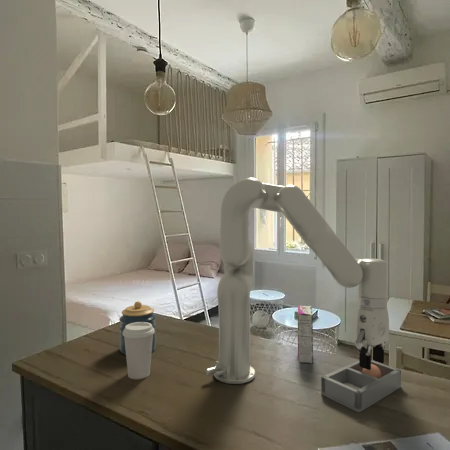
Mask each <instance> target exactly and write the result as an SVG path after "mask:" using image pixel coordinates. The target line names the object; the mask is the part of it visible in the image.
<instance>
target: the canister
mask: <svg viewBox="0 0 450 450" xmlns="http://www.w3.org/2000/svg"><path fill="white" fill-rule="evenodd" d="M154 311H155V310H154V308H152V307H150V306H149V305H147V304H142V302H141V301H139V300H137V301H135V302H134V304H133V305H129V306H127V307H126V308H124V309H123V310H122V311H121V314H122V315H121V316H120V317H119V318H118V319H119V322H120V326H119V350H120V353H121V354H123V356H126V349H125V339H124V336H123V335H122V334H123V331H124V329H125V326H126V325H128V324H131V323H135V322H148V323H151V324H152V327H153V328H154V330H155V333H154V334H153V341H152V353H153V352H154V351H156V349H157V348H156V347H157V332H156V331H157V330H156V329H157V324H156V319H157V315H156V314H155V313H154Z"/></svg>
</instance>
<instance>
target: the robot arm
mask: <svg viewBox="0 0 450 450" xmlns="http://www.w3.org/2000/svg"><path fill="white" fill-rule="evenodd" d="M251 208H253V209H259V210H264V211H271V212H276V213H282V215H283V216H284V218H285V219H286V220H287V222H289V224H290V225H291V226H292V227H293V229H294V231H295V232H296V233H297V234H298V236H299V237H300V238H301V240H302V241H303V242H304V244H305V245H307V247H308V248H310V250H312V252H313V253H314V254H315V255H316V256H317V258H318V259H319V260H320V261H321V263H322V265H324V266H325V269H327V271H328V272H329V273H330V275H331V276H332V278H333V280H335V281H336V283H337V284H338V285H340V286H341V287H342V288H347V289H351V288H354V287H355V288H356V287H357V286H358V298H357V299H358V301H357V302H358V303H357V305H358V310H357V311H358V312H357V320H356V339H355V342H354V346H355V347H356V348H357V349H356V350H357V351H358V353H359V359H358V360H359V366H360V367H362V368H365V369H368V370H370V369H371V360H373V361H376V362H378V363H381V364H385V348H386V344H385V343H386V342H387V341H389V339H390V319H389V311H388V264H387V262H386V260H384V259H379V258H369V257H368V258H355V257H354V256H353V254H352V253H351V252H350V250H349V248H347V247H346V246H345V244H344V242H342V241H341V239H340V238H339V236H338V235H337V234H336V233H335V232H334V230H333V229H332V227H331V226H330V225H329V223H328V221H326V219H325V218H324V217H323V216H322V214H321V213H320V211H319V210H318V209H317V208H316V207H315V205H314V204H313V203H312V201H311V200H310V199H309V197H308V196H307V195H306V193H305V192H304V191H303V190H302V189H301V188H300V187H299V186H298V185H295V184H286V185H277V184H270V183H266V182H265V183H264V182H262V181H261V180H259V179H258V178H255V177H246V178H242V179H241V180H238V181H237V182H235V183H234V184H232V186H230V187H229V188H228V189H227V191H226V192H225V194H224V196H223V199H222V202H221V206H220V230H219V231H220V232H219V239H220V240H219V256H220V258H221V261H222V263H223V265H224V267H223V268H224V269H223V270H224V273H223V274H224V275H223V276H221V278H220V280H219V281H218V284H217V285H218V286H217V292H216V294H217V296H216V297H217V305H218V307H217V308H218V360H215V364H214V365H213V366H212V367H208V368H206V369H205V370H204V371H205V375H206V376H207V377H208V376H212V375H213V377H214V379H216V380H218V381H219V382H222V383H224V384H231V385H240V384H241V385H242V384H246V383H249V382H250V381H252V380H253V379H254V378H255V377H256V370H255V369H254V367H252V366H251V306H250V305H251V304H250V303H251V301H250V300H251V299H250V298H251V297H250V296H251V292H252V288H253V283H254V263H253V262H254V257H253V256H254V250H253V249H254V248H253V244H252V241H251V240H250V239H249V225H250V223H249V221H250V220H249V213H250V210H251ZM365 346H366V347H365ZM371 350H372V355H371V354H370V353H371Z"/></svg>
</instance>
